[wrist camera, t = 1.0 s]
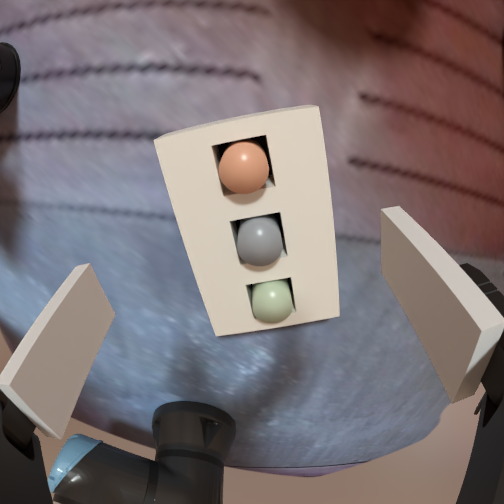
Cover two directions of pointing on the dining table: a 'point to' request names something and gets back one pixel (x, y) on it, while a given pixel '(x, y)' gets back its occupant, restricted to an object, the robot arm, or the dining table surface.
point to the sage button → (272, 300)
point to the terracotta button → (244, 166)
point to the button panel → (255, 204)
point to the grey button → (259, 240)
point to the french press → (8, 74)
